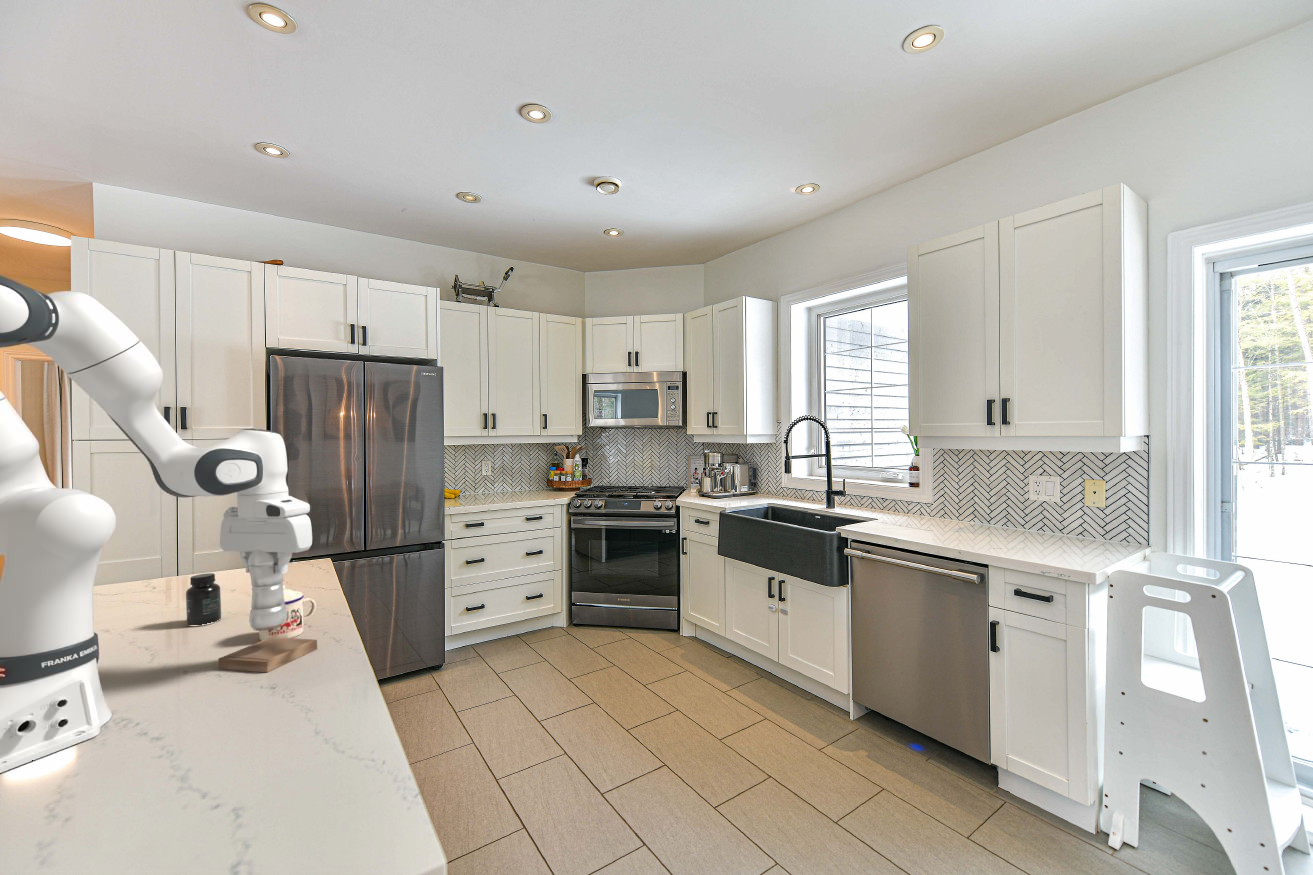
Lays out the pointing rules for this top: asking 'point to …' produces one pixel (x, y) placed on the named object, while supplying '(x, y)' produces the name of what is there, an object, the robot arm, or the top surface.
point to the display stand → (267, 654)
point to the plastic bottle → (266, 591)
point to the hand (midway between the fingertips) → (266, 572)
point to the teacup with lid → (291, 616)
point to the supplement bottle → (203, 600)
